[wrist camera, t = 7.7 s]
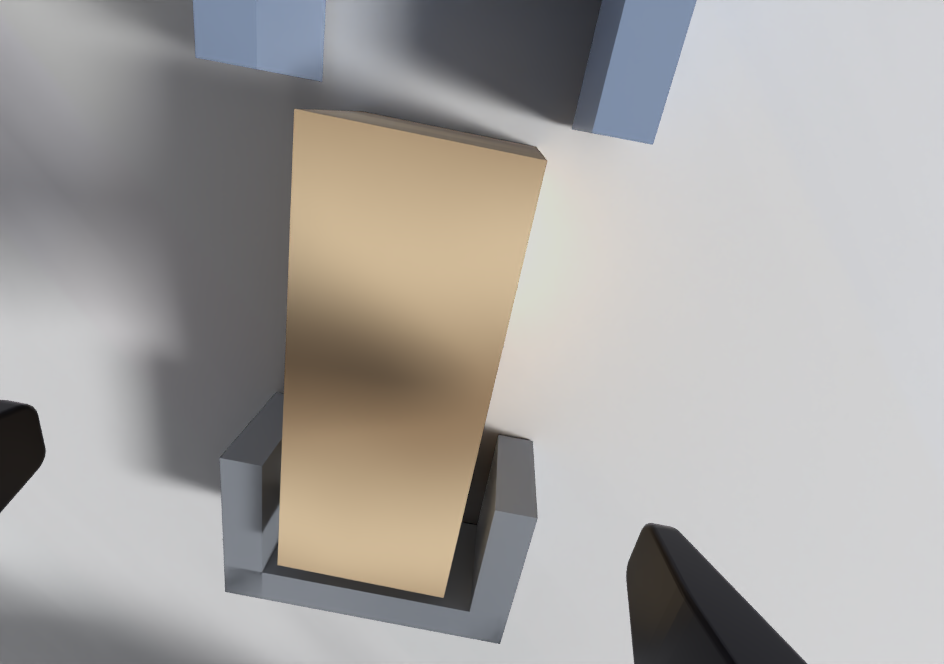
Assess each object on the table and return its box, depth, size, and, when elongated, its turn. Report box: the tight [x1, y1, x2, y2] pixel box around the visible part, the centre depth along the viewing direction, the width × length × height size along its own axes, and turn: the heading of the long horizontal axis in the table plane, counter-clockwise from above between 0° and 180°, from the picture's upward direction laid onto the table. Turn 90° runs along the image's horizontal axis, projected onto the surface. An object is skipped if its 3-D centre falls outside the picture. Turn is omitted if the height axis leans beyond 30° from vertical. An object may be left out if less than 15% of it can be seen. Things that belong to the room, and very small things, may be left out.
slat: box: [278, 109, 547, 598], centre depth 12 cm, size 10×4×4 cm, turn 169°
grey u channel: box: [220, 392, 538, 644], centre depth 14 cm, size 4×8×3 cm, turn 80°
